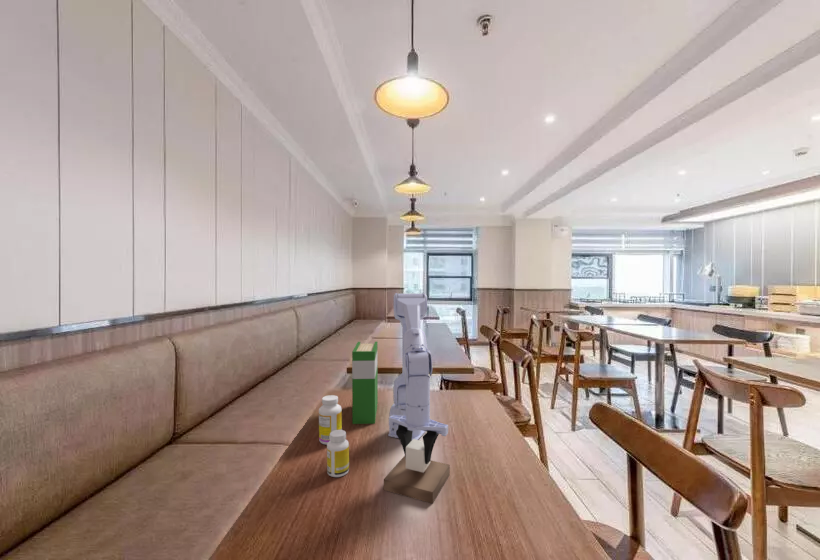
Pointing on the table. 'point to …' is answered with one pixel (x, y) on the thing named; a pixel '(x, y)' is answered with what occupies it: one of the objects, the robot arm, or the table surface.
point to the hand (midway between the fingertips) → (417, 459)
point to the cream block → (416, 456)
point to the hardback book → (364, 383)
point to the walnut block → (417, 480)
